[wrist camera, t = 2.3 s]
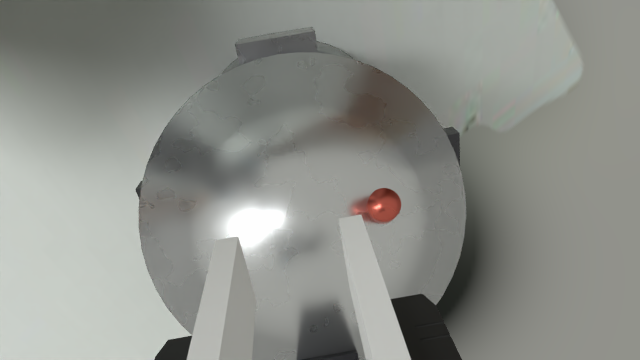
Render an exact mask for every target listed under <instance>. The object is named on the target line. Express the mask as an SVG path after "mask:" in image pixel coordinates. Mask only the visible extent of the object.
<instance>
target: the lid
mask: <svg viewBox="0 0 640 360" xmlns="http://www.w3.org/2000/svg"><path fill="white" fill-rule="evenodd" d="M465 199H466V198H465V189H464V183H463V178H462V173H461V169H460V166H459V163H458V160H457V157H456V154H455V151H454V149H453V147H452V145H451V143H450V141H449V139H448V137H447V135H446V133H445V131H444V130H443V128H442V127H441V125H440V124H439V122H438V121H437V119H436V118H435V116H434V115H433V114H432V112H431V111H430V110H429V109H428V108H427V107H426V106H425V104H424V103H423V102H422V101H421V100H420V99H419V98H418V97H417V96H416V95H415V94H413V93H412V92H411V91H410V90H409V89H408V88H407V87H405V86H404V85H403V84H401V83H400V82H398V81H397V80H395V79H394V78H393V77H391V76H389V75H388V74H386V73H384V72H382V71H380V70H378V69H376V68H374V67H372V66H370V65H367V64H364V63H362V62H359V61H357V60H354V59H350V58H346V57H342V56H338V55H332V54H324V53H316V52H295V53H286V54H277V55H273V56H268V57H264V58H260V59H256V60H253V61H251V62H248V63H245V64H242V65H240V66H237V67H235V68H233V69H231V70H229V71H227V72H225V73H223V74H221V75H220V76H218V77H217V78H215V79H214V80H212V81H211V82H209V83H208V84H206V85H205V86H204V87H202V88H201V89H200V90H199V91H198V92H196V93H195V94H194V95H193V96H192V97H191V98H189V99H188V101H187V102H186V103H185V104H184V105H183V106H182V107H181V108H180V109H179V110H178V111H177V112H176V114H175V115H174V116H173V118H172V119H171V120H170V122H169V123H168V125H167V126H166V127H165V129H164V130H163V132H162V134H161V136H160V137H159V139H158V141H157V143H156V145H155V146H154V149H153V151H152V154H151V156H150V159H149V161H148V164H147V166H146V170H145V174H144V178H143V182H142V185H141V193H140V200H139V233H140V240H141V247H142V252H143V255H144V259H145V262H146V266H147V269H148V272H149V274H150V276H151V279H152V281H153V283H154V286H155V288H156V290H157V292H158V293H159V295H160V297H161V298H162V300H163V302H164V303H165V305H166V307H167V308H168V309H169V311H170V312H171V313H172V314H173V315H174V317H175V318H176V319H177V320H178V322H179V323H180V324H181V325H182V326H183V327H184V328H185V329H186V330H187V331H188V332H189V333H190V334H192V335H193V331H194V327H195V322H196V318H197V314H198V310H199V306H200V302H201V298H202V294H203V289H204V285H205V281H206V277H207V273H208V269H209V265H210V260H211V256H212V252H213V248H214V244H215V240H219V239H224V238H230V237H236V236H238V237H239V240H240V244H241V247H242V251H243V255H244V258H245V262H246V265H247V269H248V272H249V276H250V279H251V283H252V287H253V290H254V294H255V297H256V310H255V324H254V338H253V352H252V360H366V359H365V354H364V350H363V345H362V341H361V336H360V332H359V328H358V323H357V319H356V314H355V310H354V305H353V301H352V297H351V292H350V288H349V283H348V277H347V270H346V264H345V257H344V251H343V244H342V238H341V231H340V225H339V218H344V217H350V216H355V215H362V218H363V221H364V224H365V227H366V230H367V233H368V236H369V239H370V241H371V244H372V247H373V250H374V253H375V256H376V259H377V262H378V265H379V268H380V271H381V273H382V276H383V279H384V282H385V285H386V288H387V291H388V294H389V297H390V299H394V298H400V297H405V296H411V295H417V294H423V295H425V296H426V297H427V298H428V299H429V300H430V301H431V302H433V303H434V304H435V305H436V304H437V303H438V301H439V300H440V299H441V297H442V296H443V294H444V292H445V290H446V288H447V286H448V284H449V282H450V281H451V278H452V276H453V274H454V271H455V268H456V266H457V263H458V260H459V257H460V254H461V249H462V245H463V240H464V235H465V224H466V200H465Z"/></svg>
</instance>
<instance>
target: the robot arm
mask: <svg viewBox="0 0 640 360" xmlns="http://www.w3.org/2000/svg"><path fill="white" fill-rule="evenodd" d="M339 225H340V231H341V238H342V244H343V251H344V257H345V264H346V270H347V277H348V283H349V288H350V292H351V297H352V301H353V305H354V310H355V314H356V319H357V323H358V328H359V332H360V336H361V341H362V345H363V350H364V354H365V359H366V360H462V359H461V357H460V355H459V353H458V351H457V349H456V346H455V344H454V342H453V340H452V338H451V337H450V335H449V332H448V330H447V327H446V326H445V324H444V322H443V319H442V317H441V315H440V313H439V311H438V309H437V307H436V305H435V304H434V303H433V302H431V301H430V300H429V299H428V298H427V297H426V296H425V295H423V294H417V295H411V296H405V297H400V298H394V299H390V297H389V294H388V291H387V288H386V285H385V282H384V279H383V276H382V273H381V271H380V268H379V265H378V262H377V259H376V256H375V253H374V250H373V247H372V244H371V241H370V239H369V236H368V233H367V230H366V227H365V224H364V221H363V218H362V215H355V216H350V217H344V218H339ZM255 310H256V297H255V294H254V290H253V287H252V283H251V279H250V276H249V272H248V269H247V265H246V262H245V258H244V255H243V251H242V247H241V244H240V240H239V237H238V236H236V237H230V238H224V239H219V240H215V244H214V248H213V252H212V256H211V260H210V265H209V269H208V273H207V277H206V281H205V285H204V289H203V294H202V298H201V302H200V306H199V310H198V314H197V318H196V322H195V327H194V331H193V335H192V336H188V337H182V338H177V339H171V340H168V341H167V342H166V344H165V345H164V346H163V348H162V349H161V350H160V352H159V353H158V354H157V356H156V357H155V360H252V352H253V338H254V324H255Z"/></svg>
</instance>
